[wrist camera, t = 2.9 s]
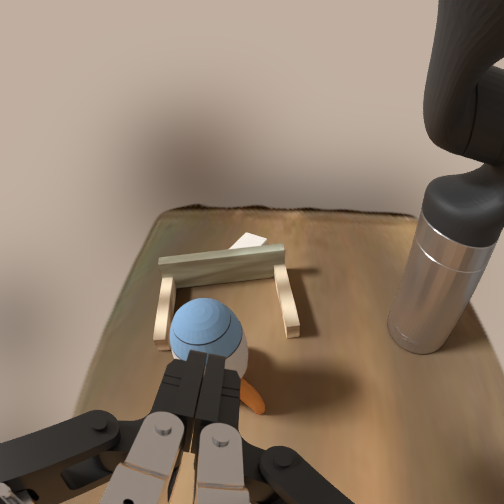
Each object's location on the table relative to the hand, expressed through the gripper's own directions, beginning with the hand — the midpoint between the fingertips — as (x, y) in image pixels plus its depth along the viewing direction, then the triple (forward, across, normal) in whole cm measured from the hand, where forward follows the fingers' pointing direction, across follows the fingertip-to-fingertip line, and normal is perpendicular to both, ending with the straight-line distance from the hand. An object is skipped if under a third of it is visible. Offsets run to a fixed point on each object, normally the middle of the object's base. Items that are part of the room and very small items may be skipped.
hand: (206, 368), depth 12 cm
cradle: (+28, 0, -13) cm, 31 cm away
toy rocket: (+15, +3, -17) cm, 23 cm away
